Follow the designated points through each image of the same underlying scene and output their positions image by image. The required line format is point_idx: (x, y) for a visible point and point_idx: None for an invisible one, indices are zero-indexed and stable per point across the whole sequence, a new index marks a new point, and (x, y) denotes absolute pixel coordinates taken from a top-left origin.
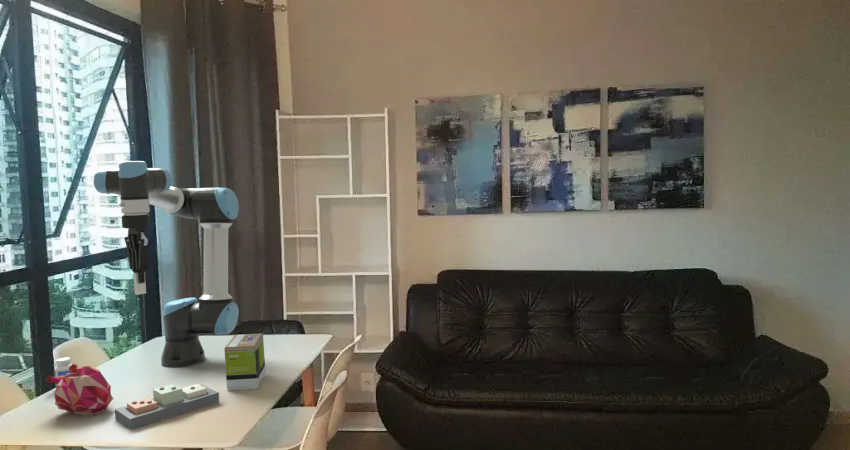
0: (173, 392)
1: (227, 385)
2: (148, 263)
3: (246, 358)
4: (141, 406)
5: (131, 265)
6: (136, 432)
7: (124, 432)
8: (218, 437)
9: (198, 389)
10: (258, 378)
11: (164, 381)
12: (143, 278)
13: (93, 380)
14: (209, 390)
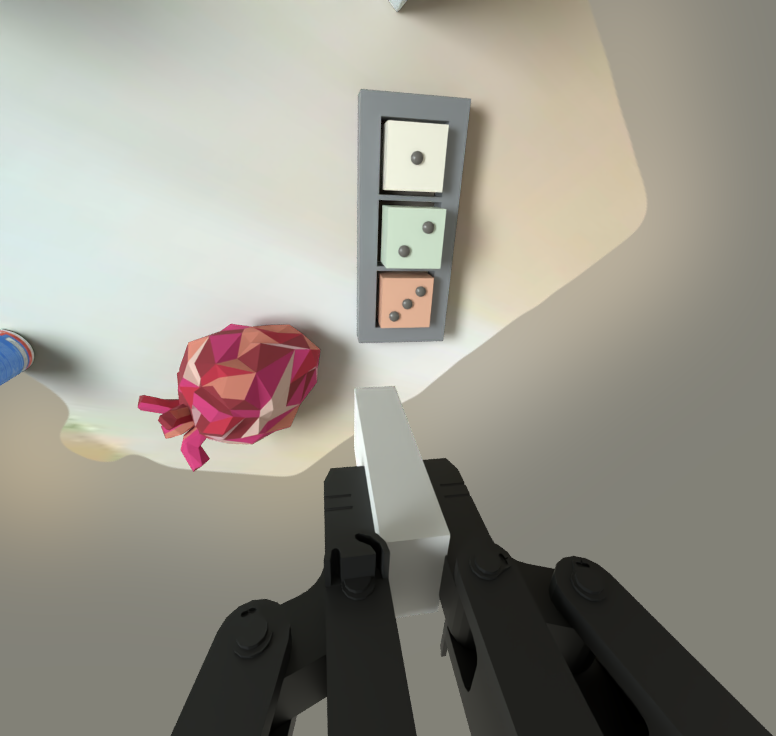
0: (442, 236)
1: (402, 5)
2: (693, 658)
3: None
4: (428, 313)
5: (292, 732)
6: (457, 329)
7: (438, 344)
8: (614, 233)
9: (437, 149)
10: None
11: (136, 110)
12: (466, 500)
13: (279, 387)
14: (431, 106)
